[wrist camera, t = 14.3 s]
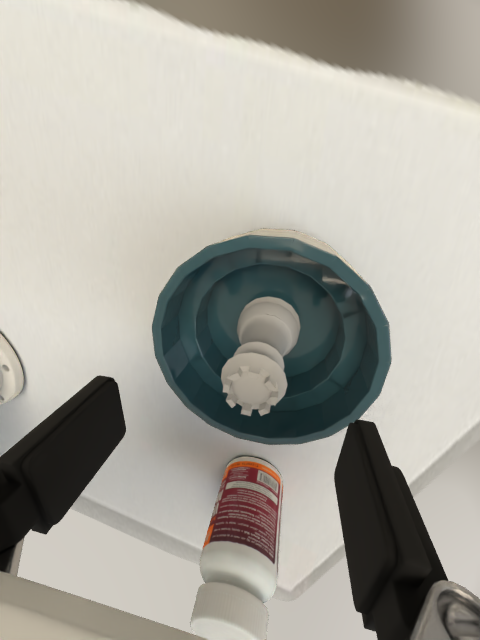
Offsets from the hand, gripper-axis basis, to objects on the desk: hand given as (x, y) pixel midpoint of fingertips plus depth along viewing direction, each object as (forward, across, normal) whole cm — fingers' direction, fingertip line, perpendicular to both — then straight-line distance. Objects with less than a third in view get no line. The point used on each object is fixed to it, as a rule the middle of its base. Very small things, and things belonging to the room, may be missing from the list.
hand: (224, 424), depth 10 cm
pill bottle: (+11, -1, +18) cm, 21 cm away
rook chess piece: (+10, -1, 0) cm, 10 cm away
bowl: (+10, -1, 0) cm, 10 cm away
